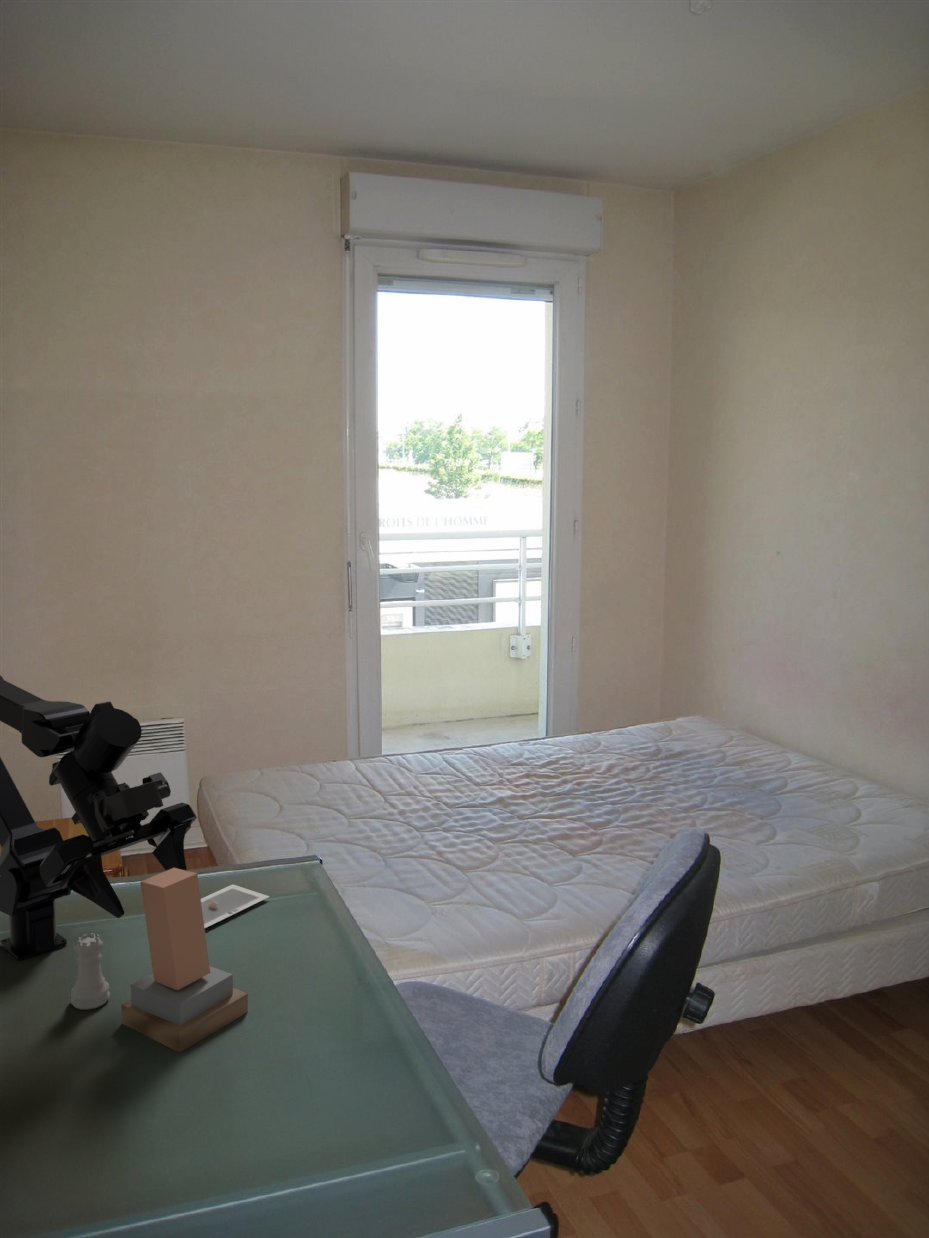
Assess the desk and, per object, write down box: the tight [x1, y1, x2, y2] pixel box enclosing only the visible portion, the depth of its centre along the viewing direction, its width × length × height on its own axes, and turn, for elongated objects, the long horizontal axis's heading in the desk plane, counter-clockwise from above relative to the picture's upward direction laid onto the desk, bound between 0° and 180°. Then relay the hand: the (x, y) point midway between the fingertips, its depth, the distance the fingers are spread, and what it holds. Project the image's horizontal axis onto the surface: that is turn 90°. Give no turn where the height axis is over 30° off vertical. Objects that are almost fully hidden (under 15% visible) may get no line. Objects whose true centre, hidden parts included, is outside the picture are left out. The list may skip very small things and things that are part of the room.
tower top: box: [130, 965, 234, 1026], centre depth 108 cm, size 8×8×2 cm
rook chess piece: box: [70, 933, 111, 1011], centre depth 111 cm, size 4×4×8 cm
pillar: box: [139, 868, 211, 990], centre depth 107 cm, size 4×4×12 cm
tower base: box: [120, 987, 249, 1053], centre depth 108 cm, size 10×10×3 cm
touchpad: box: [201, 884, 270, 929], centre depth 136 cm, size 8×15×2 cm, turn 148°
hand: (155, 901), depth 109 cm, fingers open, 9 cm apart
